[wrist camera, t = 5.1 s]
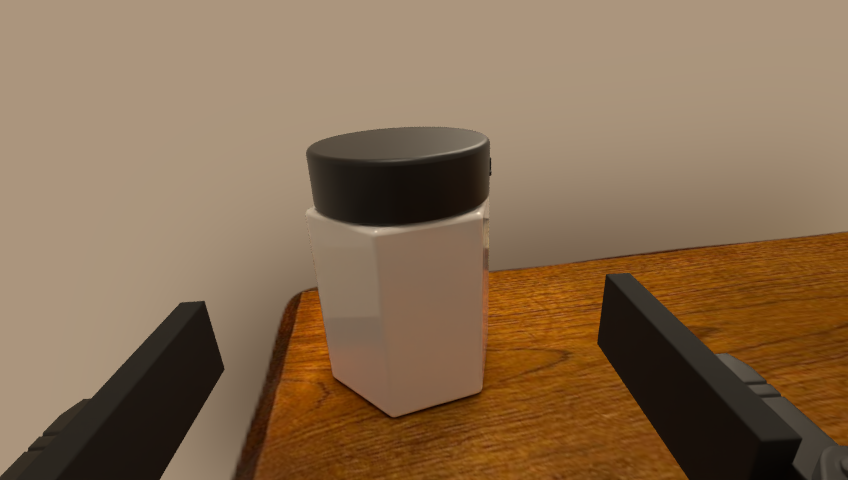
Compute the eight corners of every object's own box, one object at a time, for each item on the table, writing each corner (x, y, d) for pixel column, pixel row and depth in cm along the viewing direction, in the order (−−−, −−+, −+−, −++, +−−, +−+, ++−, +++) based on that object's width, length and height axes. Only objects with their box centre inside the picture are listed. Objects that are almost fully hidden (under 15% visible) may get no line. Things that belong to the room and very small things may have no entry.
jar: (523, 352, 24) (534, 132, 19) (427, 448, 18) (408, 172, 13) (407, 301, 29) (393, 122, 25) (306, 363, 24) (263, 147, 19)
